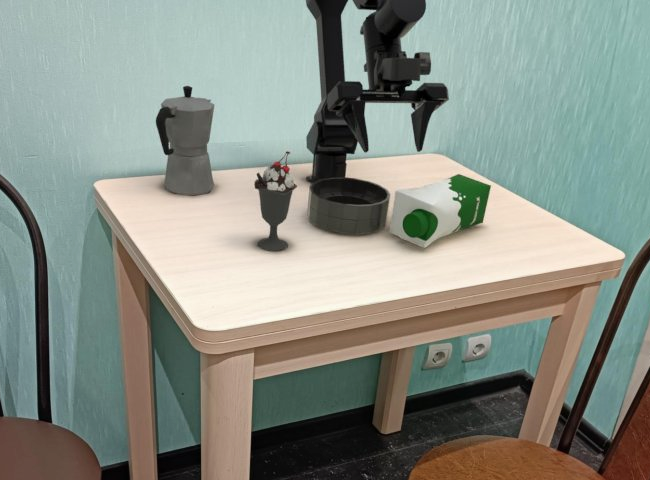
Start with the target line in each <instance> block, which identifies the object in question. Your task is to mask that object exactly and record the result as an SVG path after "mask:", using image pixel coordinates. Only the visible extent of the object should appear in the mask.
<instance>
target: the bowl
mask: <svg viewBox="0 0 650 480" xmlns="http://www.w3.org/2000/svg"><path fill="white" fill-rule="evenodd" d="M390 203H391V193H390V192H389V190H388V189H387V188H385V187H384V186H382V185H380V184H378V183H375V182H373V181H370V180H367V179H366V180H365V179H362V178H361V179H360V178H356V177H355V178H354V177H346V176H345V177H334V178H325V179H320V180H317V181H315V182H313V183H312V182H311V183H310V186H309V188H308V201H307V209H306V211H307V213H306V215H307V217H308V220H309V221H310V222H311V223H312V224H314V225H315V226H316V227H319V228H322V229H324V230H326V231H331V232H335V233H339V234H347V235H348V234H349V235H361V234H362V235H363V234H364V235H365V234H371V233H376V232H379V231H381V230H382V229H384V228H386V226H387V222H388V217H389V216H388V215H389V209H390Z"/></svg>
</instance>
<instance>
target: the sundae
mask: <svg viewBox="0 0 650 480" xmlns="http://www.w3.org/2000/svg"><path fill="white" fill-rule="evenodd" d="M290 154H291V152H290V151H285V154H284V155H283V157H282V158H281V159H280V160H279V161H277V160H275V161H274V163H273V164H272V165H270V166H267V168H266V169H265V170H264V171H263V174H262V175H261V173H260V172H256V177H257V179H256V180H254V184H253V185H254V189H256V190H258V196H259V204H260V205H259V206H260V212H261V217H262V219H263V220H264V221H265V223H267V224H268V226H269V234H268V237H265V238H264V237H263V238H261V239H259V240H258V242H257V246H258V247H259V248H260V249H262V250H264V251H269V252H280V251H285V250H286V249H287V248H288V246H289V244H288V242H287V241H286V240H284V239H281V238H279V236H278V226H279V225H281V224H282V223H284V221H286V220H287V217H288V214H289V210H290V204H291V199H292V195H293V191H295V189H297V188H298V185H297V184H296V183H295V180H294V178H293V176H292V175H291V173H289V172H290V170H291V168H290V167H289V166H288V163H287V162H288V161H287V160H288V156H289V155H290ZM284 158H285V165H283V166H282V164H281V162H282V161H283V159H284Z"/></svg>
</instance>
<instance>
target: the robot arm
mask: <svg viewBox="0 0 650 480" xmlns="http://www.w3.org/2000/svg"><path fill="white" fill-rule="evenodd" d="M348 2H349V0H305V4H306V7H307V9H308V11H309V12H310V14H311V15H312V17H313V18H314V20H315V25H316V38H317V39H316V40H317V54H318V55H317V56H318V57H317V58H318V71H319V86H320V103H319V104H318V107H317V109H316V110H315V113H314V114H313V123H312V125H311V127H310V129H309V131H308V133H307V134H306V137H305V139H306V140H305V141H306V149H307V150H308V151H309V152H310V153H311V154H312V155H313V157H312V169H311V171H312V172H311V175H307V176H305V180H307V181H309V182H310V183H311V184H312V183H313V182H315V181H317V180H320V179H325V178H334V177H346V175H347V165H348V164H347V156H348V155H355V154H356V150H357V146H358V144H359V146H360V148H361V150H362V151H363V153H366V154H367V153H368V152H369V151H370V150H369V147H370V146H369V135H368V129H367V122H366V117H365V115H366V114H365V112H366V111H365V110H366V104H410V105H411V108H412V110H413V112H412V113H410V118H411V125H412V132H413V139H414V145H415V149H416V152H417V153H421V151H423V147H424V143H425V139H426V136H427V131H428V126H429V123H430V120H431V117H432V115H433V113H434V112H435V111H437V110H438V109H440V107H442V106H443V105H444V104H446V103H447V102H449V100H450V96H449V88H448V87H447V85H445V83H444V82H423V83H422V84H421V85H420V86H418V88H416V89H415V90H412V89H410V90H409V89H406V88H407V87H410V86H412V85H413V82H421V76H429V75H430V74H431V71H432V60H431V52H429V51H428V52H427V51H426V52H425V51H419V52H415V53H414V55H413V57H408V55H407V53H406V51H404V50H403V49H402V40H401V39H402V38H404V37H405V36H406V35H408V33H409V32H410V31H411V30H412V29H414V27H415V26H416V25H417V23H418V22H419V21H420V20H421V19H422V18H423V17H424V15H425V13H426V9H427V1H426V0H352V2H353V4H354V5H355V8H356V9H357V10H359V11H373V12H371V13H369V15H367V16H366V17H365V19H364V20H363V22H362V25H361V26H360V30H359V34H360V35H361V36H363V44H364V54H365V63H364V64H363V72H364V73H367V83H368V89H364V87H363V83H362V82H361V81H357V80H356V81H354V80H353V81H352V80H351V81H350V80H346V72H345V58H344V57H345V55H344V39H343V25H342V23H343V22H342V14H343V12H344V10H345V9H346V6H347V5H348Z"/></svg>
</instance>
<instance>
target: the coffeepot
mask: <svg viewBox="0 0 650 480" xmlns="http://www.w3.org/2000/svg"><path fill="white" fill-rule="evenodd" d="M182 90H183V95H184V96H177V97H170V98H165V99H164V100H163V101H162V102H161V103H160V105H161V106H160V107H161V108H160V109H159V110H158V113H157V114H156V117H155V127H156V129H157V132H158V136H159V140H160V144H161V147H162V151H163V154H164V155H165V156H167V160H166V167H165V169H166V170H165V175H164V181H163V187H164V188H165V189H166V190H167V191H169V192H171V193H174V194H176V195H177V194H178V195H182V196H200V195H205V194H208V193H209V192H212V190H213V187H214V185H215V184H214V177H213V172H212V165H211V160H210V154H209V152H208V145H209V143H210V138H211V131H212V124H213V117H214V112H215V111H214V110H215V103H213V102H211V101H212V99H207V98H205V97H194V96H192V94H193V87H192V86H191V85H185V86H183V87H182Z"/></svg>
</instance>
